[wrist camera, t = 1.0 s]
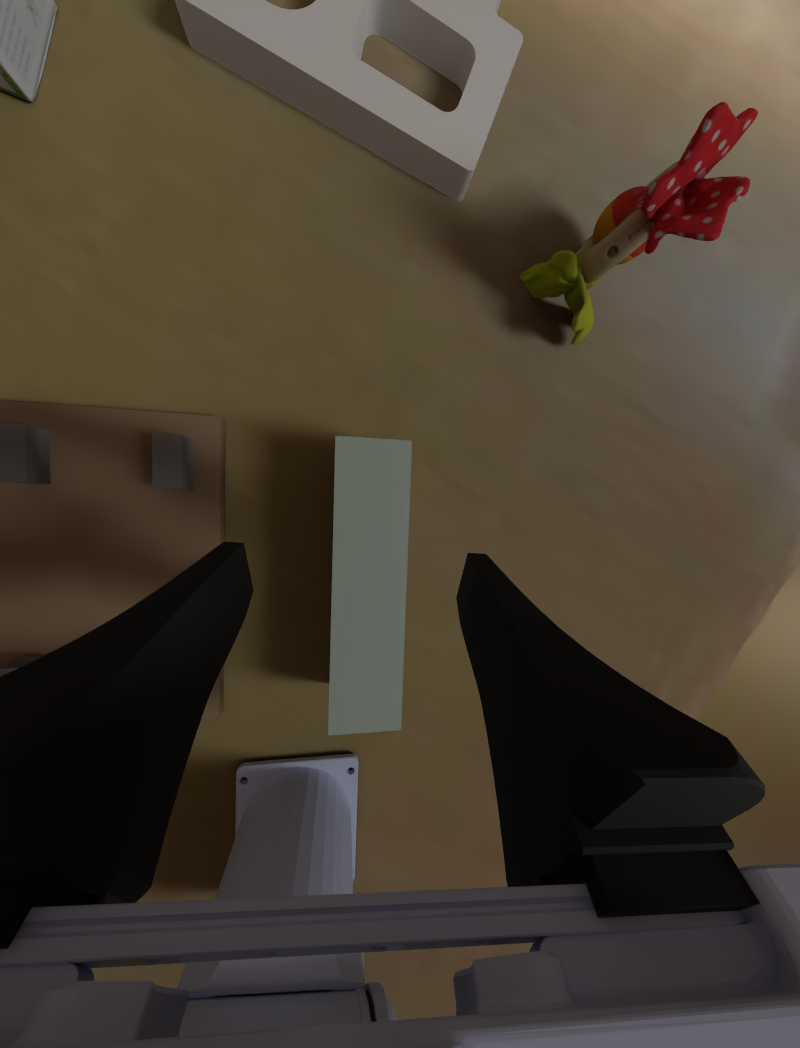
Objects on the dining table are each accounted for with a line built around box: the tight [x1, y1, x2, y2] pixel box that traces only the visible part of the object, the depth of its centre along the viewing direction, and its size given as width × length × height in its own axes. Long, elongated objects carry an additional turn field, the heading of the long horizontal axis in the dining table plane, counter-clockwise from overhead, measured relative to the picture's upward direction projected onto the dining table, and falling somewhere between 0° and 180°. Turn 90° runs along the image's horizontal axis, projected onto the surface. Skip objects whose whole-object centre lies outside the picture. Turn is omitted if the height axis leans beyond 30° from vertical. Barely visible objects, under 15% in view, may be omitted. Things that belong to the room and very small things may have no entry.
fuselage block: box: [328, 436, 412, 735], centre depth 21 cm, size 16×4×6 cm, turn 178°
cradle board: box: [0, 400, 225, 720], centre depth 20 cm, size 19×12×2 cm, turn 178°
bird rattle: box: [520, 102, 758, 345], centre depth 20 cm, size 6×11×9 cm
